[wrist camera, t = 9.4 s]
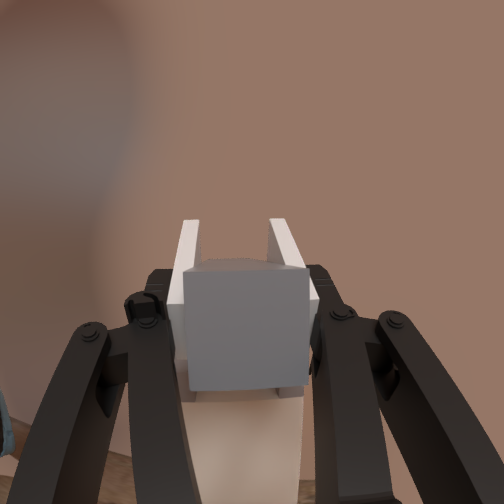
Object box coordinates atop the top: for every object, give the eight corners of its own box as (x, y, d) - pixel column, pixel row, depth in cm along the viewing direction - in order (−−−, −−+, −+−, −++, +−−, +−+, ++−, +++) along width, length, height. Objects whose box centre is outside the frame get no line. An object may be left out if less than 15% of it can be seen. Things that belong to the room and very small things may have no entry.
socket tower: (215, 608, 17) (167, 372, 17) (213, 538, 31) (189, 322, 31) (284, 604, 18) (304, 366, 18) (269, 535, 32) (269, 319, 32)
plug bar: (189, 391, 9) (182, 271, 9) (210, 298, 28) (209, 259, 28) (308, 384, 9) (309, 268, 9) (249, 297, 29) (248, 258, 29)
